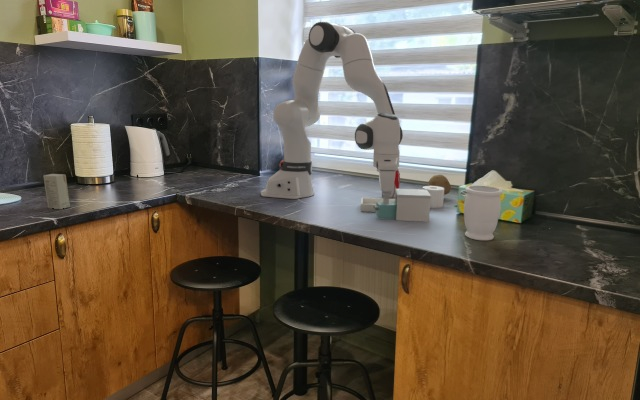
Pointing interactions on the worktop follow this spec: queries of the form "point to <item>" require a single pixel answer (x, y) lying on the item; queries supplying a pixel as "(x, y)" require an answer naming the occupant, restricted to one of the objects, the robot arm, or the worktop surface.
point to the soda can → (395, 184)
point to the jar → (481, 211)
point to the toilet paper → (435, 196)
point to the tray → (371, 203)
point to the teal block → (386, 210)
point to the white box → (412, 204)
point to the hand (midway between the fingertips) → (385, 200)
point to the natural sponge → (440, 183)
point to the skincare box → (56, 191)
